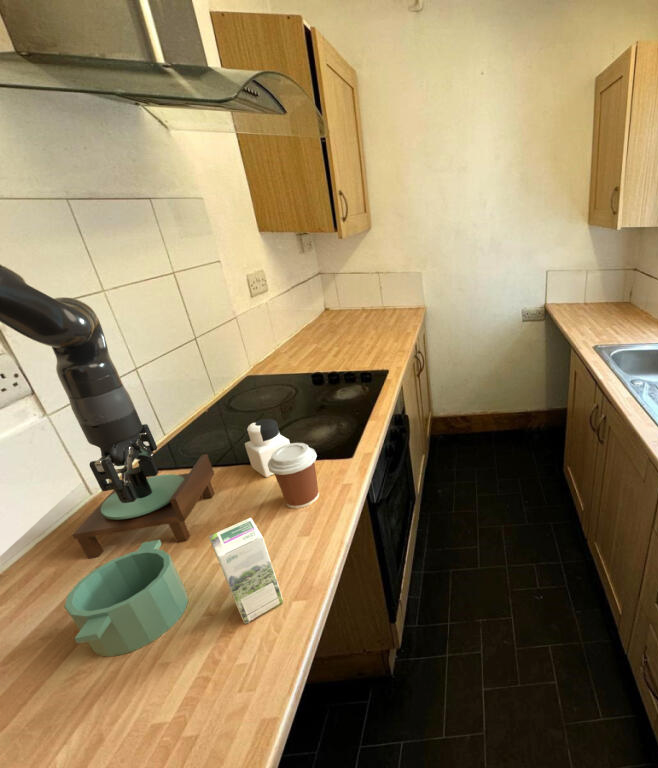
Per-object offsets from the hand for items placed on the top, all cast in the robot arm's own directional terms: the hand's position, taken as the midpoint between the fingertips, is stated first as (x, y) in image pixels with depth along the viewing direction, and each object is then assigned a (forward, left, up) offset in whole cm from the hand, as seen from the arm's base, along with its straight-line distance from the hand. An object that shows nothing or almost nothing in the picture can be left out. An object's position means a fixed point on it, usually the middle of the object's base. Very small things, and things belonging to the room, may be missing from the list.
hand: (141, 487), depth 80 cm
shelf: (0, 0, -9) cm, 9 cm away
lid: (0, 0, -2) cm, 2 cm away
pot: (+8, -24, -9) cm, 27 cm away
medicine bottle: (+18, +15, -9) cm, 25 cm away
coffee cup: (+27, 0, -9) cm, 28 cm away
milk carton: (+25, -26, -9) cm, 37 cm away
